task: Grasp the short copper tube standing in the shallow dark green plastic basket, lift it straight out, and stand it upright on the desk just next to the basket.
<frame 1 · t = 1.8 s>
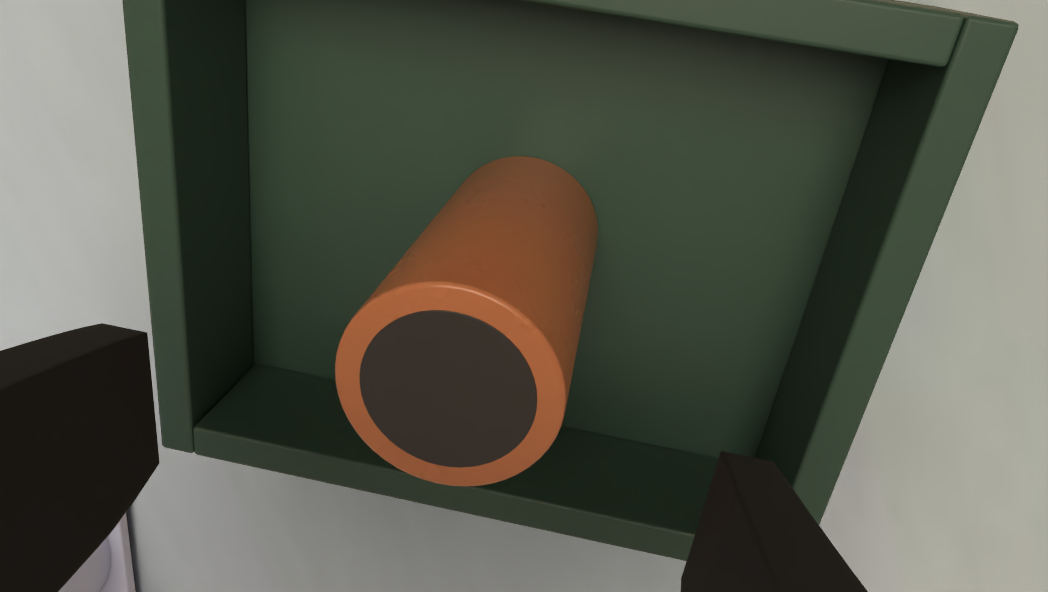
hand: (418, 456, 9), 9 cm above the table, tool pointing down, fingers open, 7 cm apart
basket: (527, 220, 18), on the table
tube: (523, 229, 17), point 1 cm above the table, touching basket
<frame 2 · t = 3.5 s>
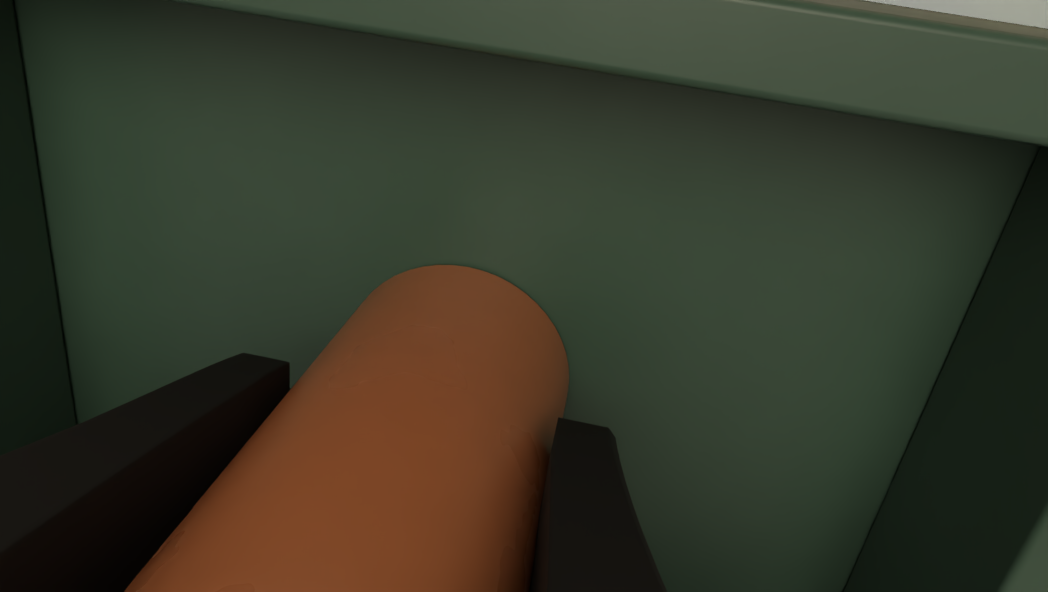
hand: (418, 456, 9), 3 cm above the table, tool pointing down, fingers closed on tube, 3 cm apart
basket: (468, 349, 12), on the table
tube: (457, 367, 11), point 1 cm above the table, touching basket, gripper
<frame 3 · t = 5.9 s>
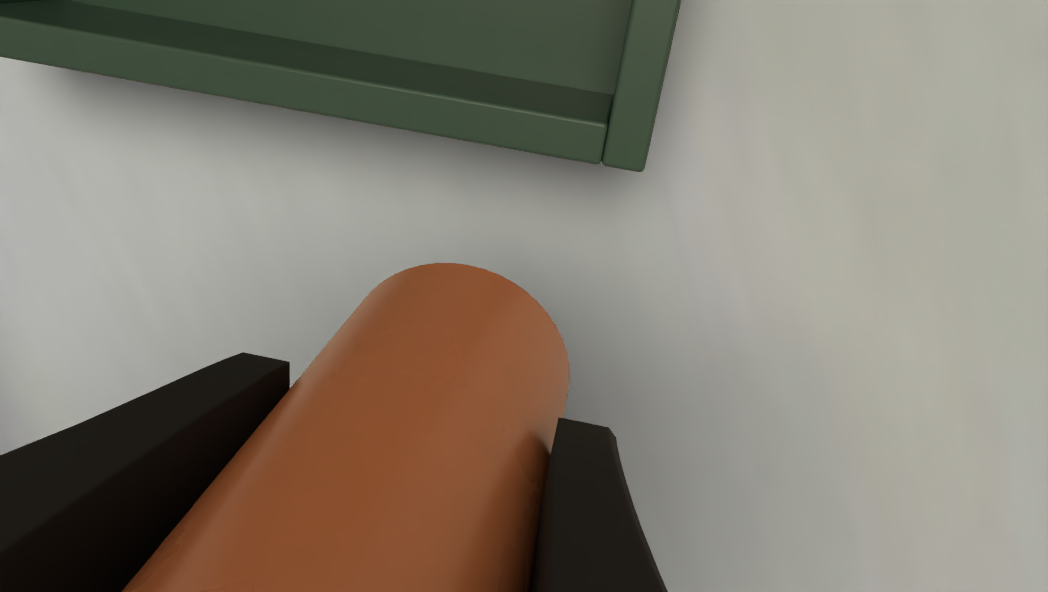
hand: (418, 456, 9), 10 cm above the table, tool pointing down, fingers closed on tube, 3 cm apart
tube: (457, 365, 11), point 8 cm above the table, touching gripper
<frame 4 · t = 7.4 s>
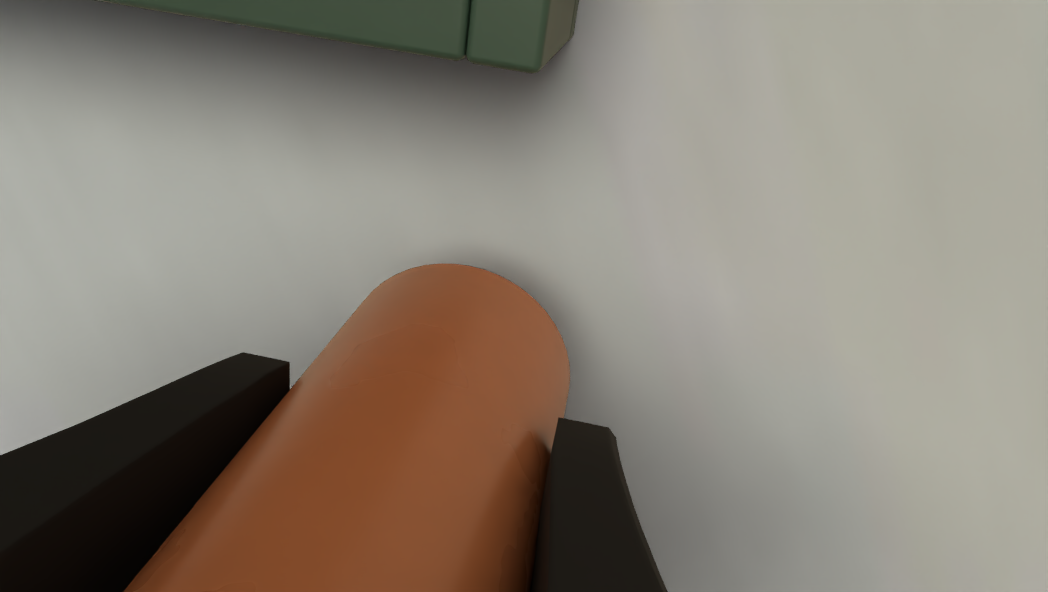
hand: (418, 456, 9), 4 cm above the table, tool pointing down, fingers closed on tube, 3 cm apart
tube: (457, 366, 11), point 2 cm above the table, touching gripper
when the fingers open (2 cm above the table, at t = 8.3 s): tube stays where it is, on the table.
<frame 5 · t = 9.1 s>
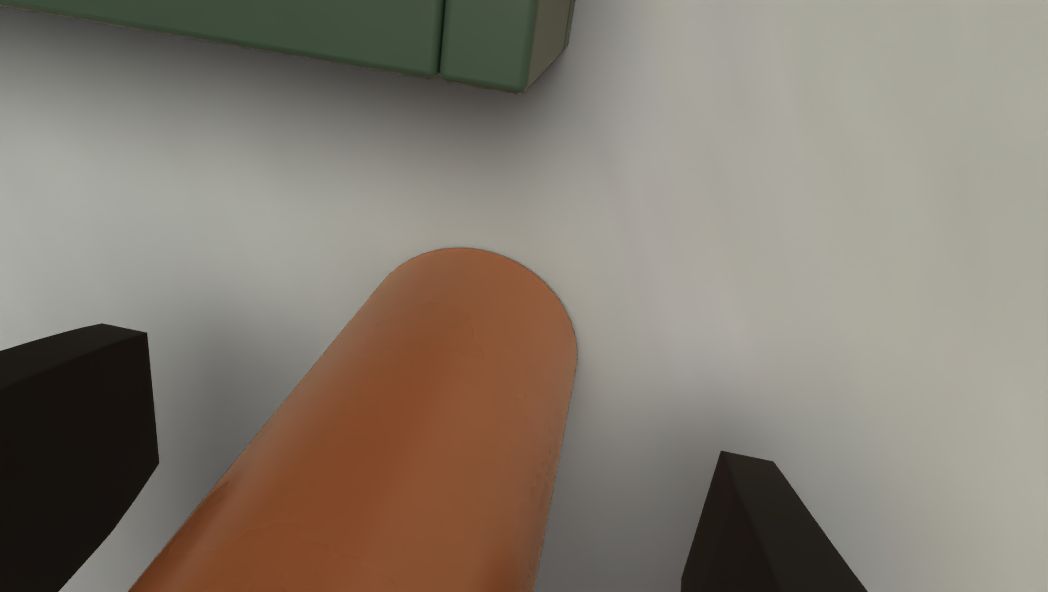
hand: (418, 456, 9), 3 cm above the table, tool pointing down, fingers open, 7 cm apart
tube: (470, 347, 12), on the table
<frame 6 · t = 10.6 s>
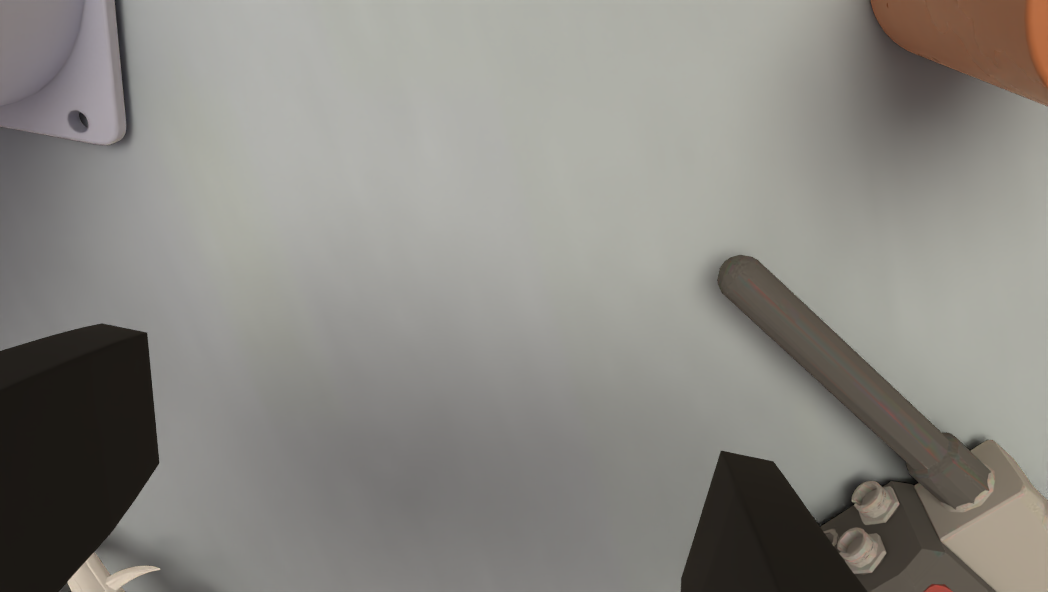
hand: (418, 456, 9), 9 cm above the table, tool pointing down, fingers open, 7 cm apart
walkie-talkie: (886, 561, 20), on the table
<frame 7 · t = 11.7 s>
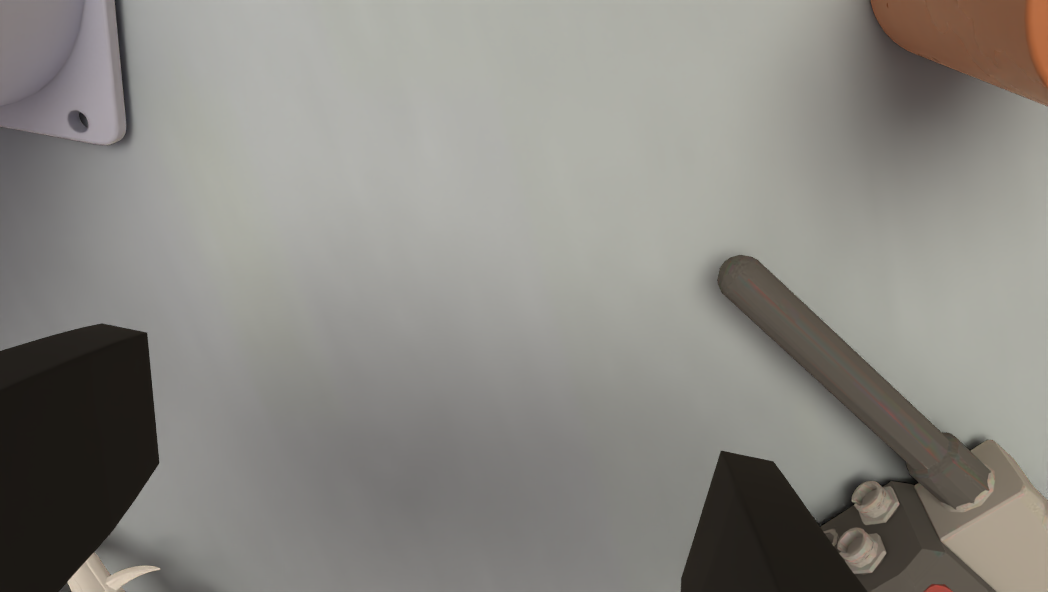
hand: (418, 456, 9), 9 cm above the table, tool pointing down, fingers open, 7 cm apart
walkie-talkie: (886, 561, 20), on the table
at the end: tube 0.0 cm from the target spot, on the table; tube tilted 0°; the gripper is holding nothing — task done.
